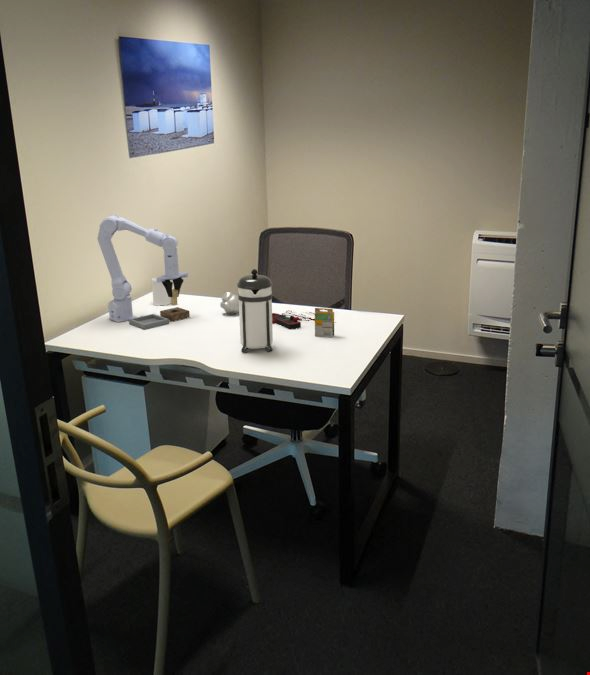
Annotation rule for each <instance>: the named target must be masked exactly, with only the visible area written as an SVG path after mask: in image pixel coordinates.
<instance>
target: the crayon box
mask: <svg viewBox="0 0 590 675" xmlns="http://www.w3.org/2000/svg"><path fill="white" fill-rule="evenodd" d="M314 314H315V315H314V319H315V321H314V336H315V337H319V338H320V337H321V338H322V337H324V338H332V337H335V322H334V321H335V312H334V309H333V308H321V307H320V308H319V307H314Z"/></svg>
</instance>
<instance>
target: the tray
mask: <svg viewBox="0 0 590 675" xmlns="http://www.w3.org/2000/svg"><path fill="white" fill-rule="evenodd" d="M136 317H137V316H136ZM128 323H129V325H132V326H134V327H137V328H139V329H142V330H148V329H153V328H157V327H158V328H159V327H161V326H166V325H170V321H169V319H167V318H164V317H161V316H160V314H156V313H151V314H146V315H141V316H138V317H137V318H133V319H129V320H128ZM165 324H166V325H165Z"/></svg>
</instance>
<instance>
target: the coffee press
mask: <svg viewBox="0 0 590 675" xmlns="http://www.w3.org/2000/svg"><path fill="white" fill-rule="evenodd" d="M236 287H237V289H238V290H237V291H238V293H237V296H238V299H239V312H238V313H239V314H238V315H239V336H240V339H239V340H240V344H241V345H242V347H241V351H240V352H241V353H243V354H246V353H247V352H248V351H249V349H253V350H254V349H255V350H257V349H265V351H266V352H267V353H271V352H273V347H272V346H271V345H272V344H273V338H274V337H273V323H272V313H273V301H272V299H273V292H272V287H273V281H272V280H271V279H270V278H269V277H268V276H266V275H262V274H258V270H257V269H256V268H253V269H252V270H251V272H250V274H249V275H244V276H242V277H241V278H240V279H239V280H238V282H237V284H236Z"/></svg>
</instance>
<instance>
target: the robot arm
mask: <svg viewBox="0 0 590 675" xmlns="http://www.w3.org/2000/svg"><path fill="white" fill-rule="evenodd" d="M98 229H99V230H98V234H97V242H98V245H99V247H100V250H101V253H102V257H103V258H104V261H105V264H106V267H107V270H108V273H109V275H110V278H111V288H112V290H111V293H112V296H113V300H112V299H111V301H109V302H108V305H107V306H108V314H109V316H108V317H109V318H108V319H109V320H111V321H114V322H116V323H120V322H125V321H129V319H133V318H137V316H136V315H134V313H133V311H134V310H133V304H132V303H133V301H132V296H131V292H132V285H131V283H130V282H129V281H128V280H127V277H126V276H125V275H124V273H123V271H122V267H121V265H120V262H119V259H118V256H117V253H116V251H115V247H114V244H113V243H112V238H113V237H114V235H115V233H116V232H117V231H118V232H120V231H129V232H130V233H134V234H137V235H138V236H142V237H144V238H145V241H147V242H148V243H151V244H153V245H155V246H158V247H160V248H161V247H162V249H163V260H164V261H163V262H164V275H160V276H157V278H156V279H157V282H159V283H160V282H162V284H163V285H164V287H165V289H166V291H167V294H168V297H172V289H173V288H172V285H173V286H174V289H176V290H178V295H179V296H180V291H181V288H182V285H183V283H184V278H188V277H189V276H188V272H186V271H184V272H180V271H179V269H180V268H179V255H178V248H177V247H178V245H179V242H178V239H177V238H176V237H175V236H174V235H173V234H171V235H169V233H163V232H161V231H159V229H158V228H148V229H147V228H145V227H143V226H142V225H141V226H140V225H139V224H137V223H135V222H133V221H131V220H129V219H127V218H125V217H122V216H118V215H117V214H111V215H109V216H107V217H105V218H104V219H103V220H102V221H101V222H100V224H99V228H98Z"/></svg>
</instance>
